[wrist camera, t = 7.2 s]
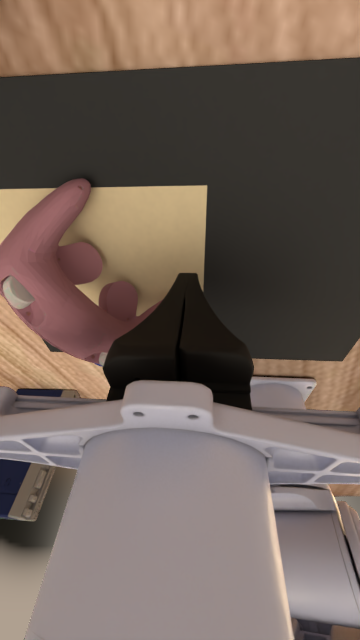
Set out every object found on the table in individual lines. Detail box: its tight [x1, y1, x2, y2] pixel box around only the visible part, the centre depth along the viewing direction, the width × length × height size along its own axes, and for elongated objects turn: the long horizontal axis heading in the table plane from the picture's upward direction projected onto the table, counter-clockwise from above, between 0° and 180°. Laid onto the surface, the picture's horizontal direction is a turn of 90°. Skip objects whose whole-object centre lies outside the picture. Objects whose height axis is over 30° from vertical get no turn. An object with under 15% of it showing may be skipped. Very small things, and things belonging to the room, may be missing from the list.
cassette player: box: [0, 389, 80, 521], centre depth 26 cm, size 7×2×12 cm, turn 95°
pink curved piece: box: [0, 178, 163, 366], centre depth 14 cm, size 10×5×7 cm, turn 35°
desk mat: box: [0, 58, 360, 361], centre depth 16 cm, size 18×26×1 cm
